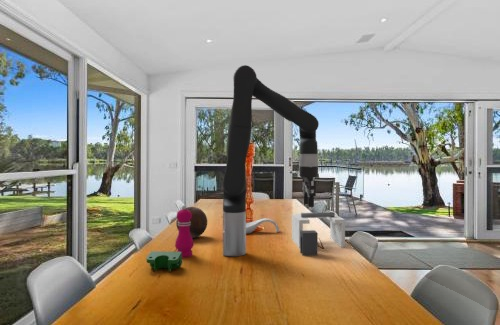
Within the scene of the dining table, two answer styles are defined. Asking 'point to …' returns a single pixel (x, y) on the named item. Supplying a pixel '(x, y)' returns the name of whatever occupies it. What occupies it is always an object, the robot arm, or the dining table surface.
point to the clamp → (164, 259)
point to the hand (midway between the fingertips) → (308, 205)
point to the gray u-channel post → (309, 242)
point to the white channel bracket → (335, 221)
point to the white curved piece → (255, 224)
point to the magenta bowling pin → (184, 233)
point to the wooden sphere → (196, 222)
